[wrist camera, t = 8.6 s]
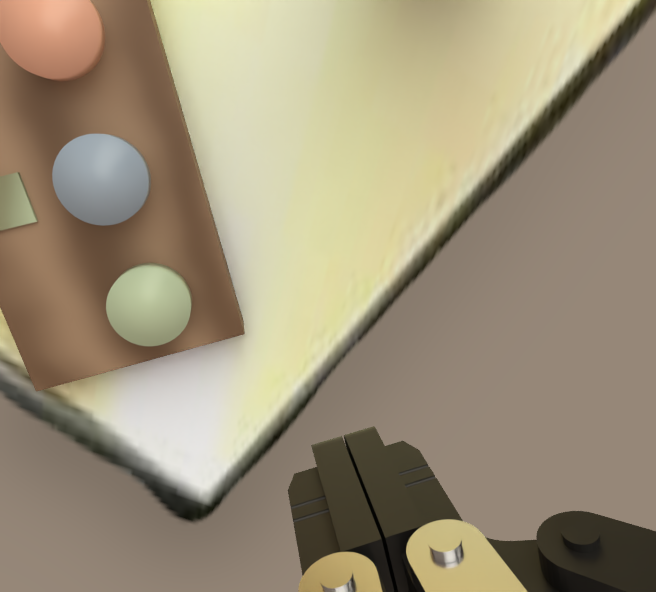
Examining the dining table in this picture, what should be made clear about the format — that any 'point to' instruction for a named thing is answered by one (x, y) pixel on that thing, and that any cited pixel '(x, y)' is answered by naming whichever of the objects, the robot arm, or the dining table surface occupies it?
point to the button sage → (149, 304)
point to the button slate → (101, 179)
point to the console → (97, 240)
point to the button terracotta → (52, 36)
